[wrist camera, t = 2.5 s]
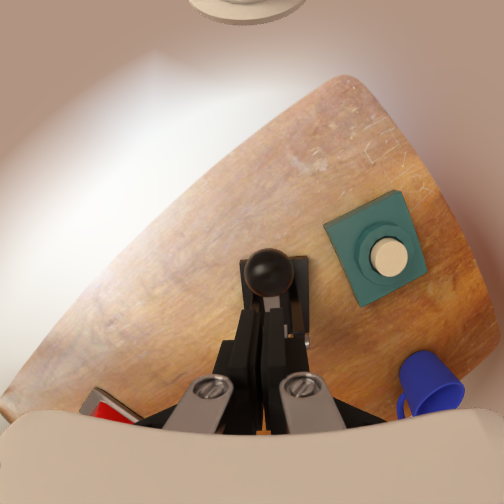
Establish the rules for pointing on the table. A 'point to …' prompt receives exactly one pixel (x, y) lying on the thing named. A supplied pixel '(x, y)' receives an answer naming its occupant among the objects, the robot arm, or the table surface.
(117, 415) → the toaster
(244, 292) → the bracket
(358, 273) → the button block
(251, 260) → the lever
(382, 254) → the button
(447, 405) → the mug
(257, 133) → the table surface
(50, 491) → the robot arm
